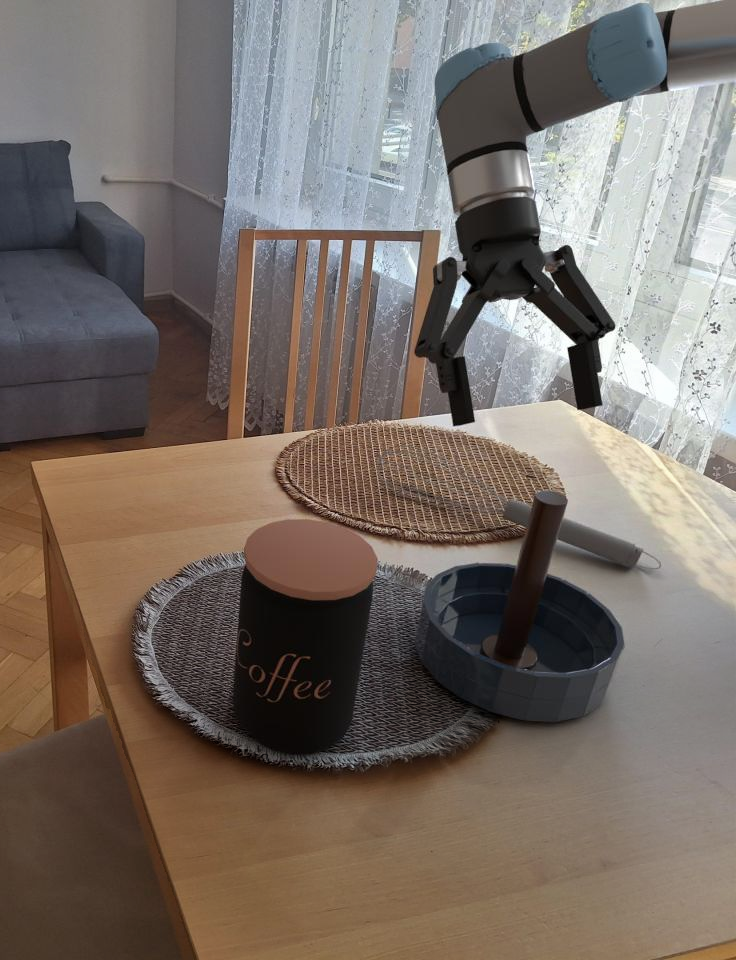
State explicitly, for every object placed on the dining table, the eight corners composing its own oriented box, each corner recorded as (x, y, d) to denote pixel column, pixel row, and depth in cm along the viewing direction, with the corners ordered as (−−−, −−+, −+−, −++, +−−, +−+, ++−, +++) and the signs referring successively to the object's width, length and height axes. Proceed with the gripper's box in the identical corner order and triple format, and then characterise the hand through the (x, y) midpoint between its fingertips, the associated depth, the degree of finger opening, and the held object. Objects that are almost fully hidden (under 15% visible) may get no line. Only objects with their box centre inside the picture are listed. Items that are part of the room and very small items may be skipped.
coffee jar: (208, 717, 79) (217, 553, 70) (276, 660, 85) (292, 505, 76) (307, 781, 72) (331, 609, 63) (373, 715, 78) (403, 551, 70)
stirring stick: (535, 647, 85) (581, 489, 76) (536, 679, 81) (585, 517, 72) (481, 635, 87) (520, 479, 78) (479, 666, 83) (520, 506, 74)
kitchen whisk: (651, 587, 94) (668, 539, 91) (364, 492, 114) (370, 449, 111) (664, 563, 98) (681, 516, 95) (384, 474, 118) (391, 433, 115)
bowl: (599, 631, 88) (615, 584, 85) (613, 750, 74) (633, 698, 71) (422, 594, 94) (431, 548, 91) (405, 697, 80) (415, 647, 77)
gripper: (581, 210, 91) (614, 406, 91) (361, 232, 88) (392, 435, 87) (633, 182, 84) (669, 395, 83) (394, 204, 81) (429, 426, 80)
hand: (527, 416), depth 85 cm, fingers open, 13 cm apart
